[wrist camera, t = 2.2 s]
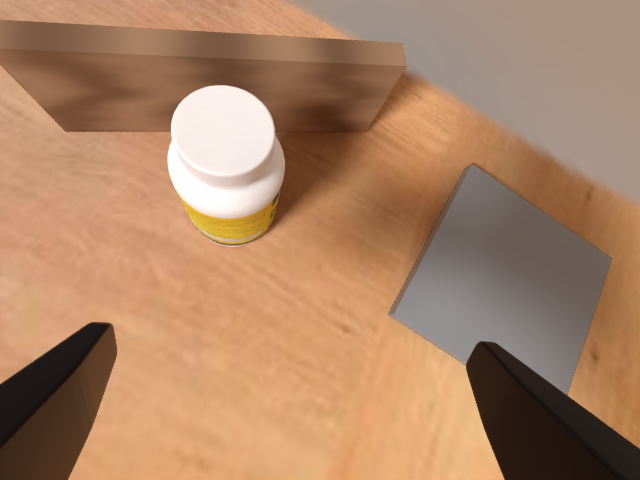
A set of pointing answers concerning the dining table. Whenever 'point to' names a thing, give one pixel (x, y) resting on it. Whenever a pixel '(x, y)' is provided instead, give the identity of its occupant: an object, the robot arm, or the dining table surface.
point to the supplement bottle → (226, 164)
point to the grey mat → (504, 281)
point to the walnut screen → (195, 75)
